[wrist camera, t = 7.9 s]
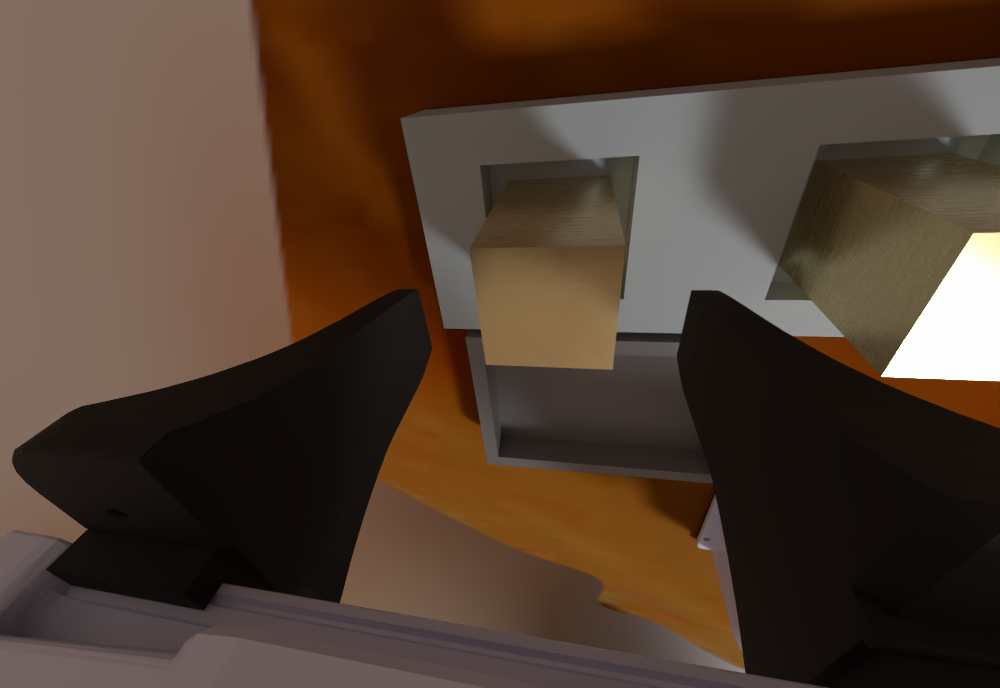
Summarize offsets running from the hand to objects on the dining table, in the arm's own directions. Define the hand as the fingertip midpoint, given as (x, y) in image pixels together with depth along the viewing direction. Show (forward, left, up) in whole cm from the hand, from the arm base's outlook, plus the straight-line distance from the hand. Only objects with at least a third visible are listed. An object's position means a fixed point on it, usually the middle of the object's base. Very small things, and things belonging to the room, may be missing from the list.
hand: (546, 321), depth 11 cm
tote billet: (0, 0, -8) cm, 8 cm away
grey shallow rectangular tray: (-10, -2, -9) cm, 13 cm away
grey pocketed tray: (0, -5, -9) cm, 10 cm away
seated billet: (0, -11, -8) cm, 13 cm away
